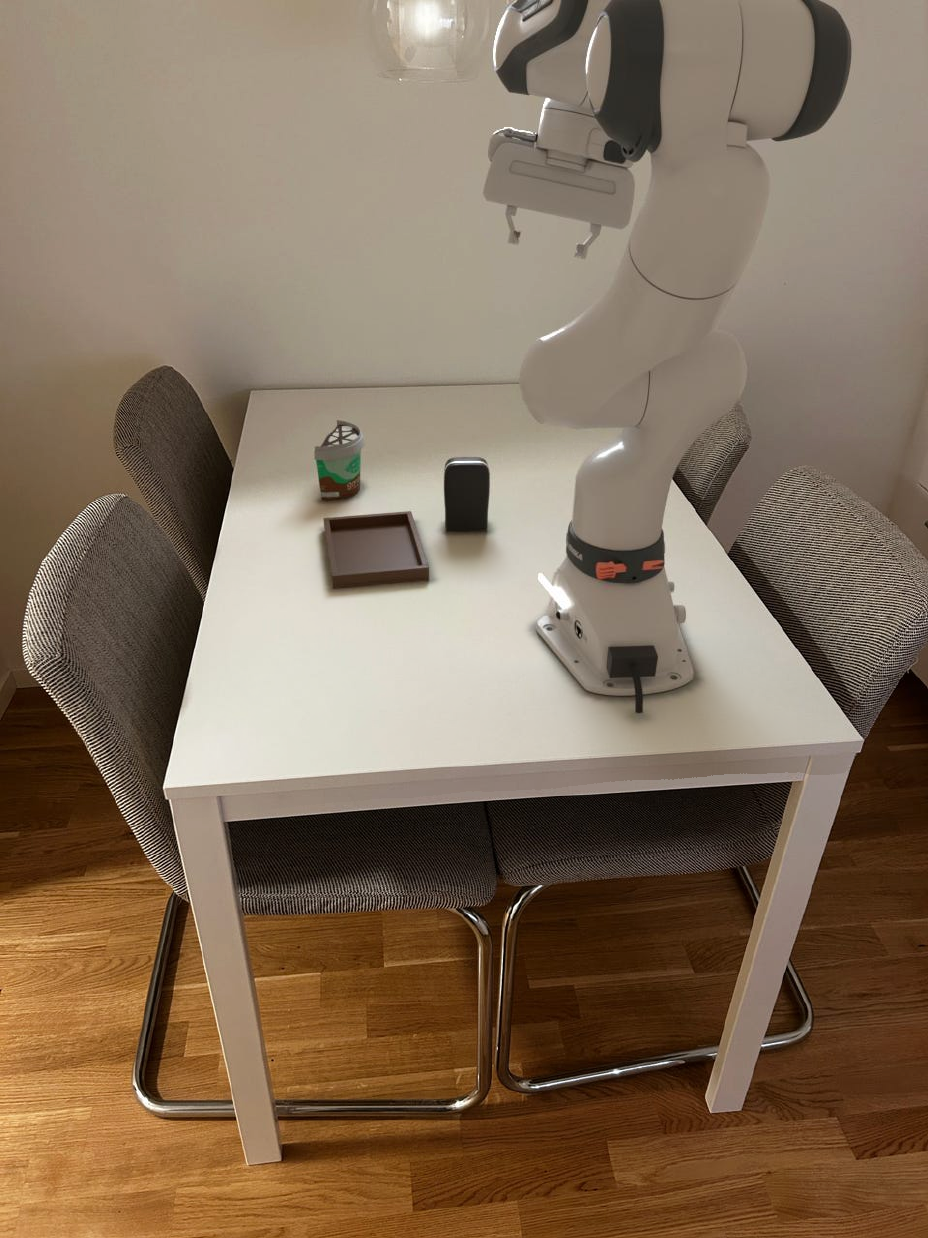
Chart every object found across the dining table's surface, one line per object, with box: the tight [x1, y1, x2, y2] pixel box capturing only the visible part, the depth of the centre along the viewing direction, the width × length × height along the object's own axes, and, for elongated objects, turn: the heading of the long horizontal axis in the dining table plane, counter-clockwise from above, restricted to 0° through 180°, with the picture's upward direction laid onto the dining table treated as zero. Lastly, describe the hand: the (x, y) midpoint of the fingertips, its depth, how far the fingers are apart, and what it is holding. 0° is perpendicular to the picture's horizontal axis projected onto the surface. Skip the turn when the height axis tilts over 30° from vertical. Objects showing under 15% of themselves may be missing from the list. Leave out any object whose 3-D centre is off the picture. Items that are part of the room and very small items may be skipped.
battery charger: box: [443, 456, 491, 532], centre depth 144 cm, size 7×4×11 cm, turn 93°
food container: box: [314, 419, 366, 502], centre depth 154 cm, size 12×6×10 cm, turn 168°
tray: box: [323, 510, 430, 590], centre depth 139 cm, size 18×14×2 cm
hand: (546, 251), depth 129 cm, fingers open, 8 cm apart
